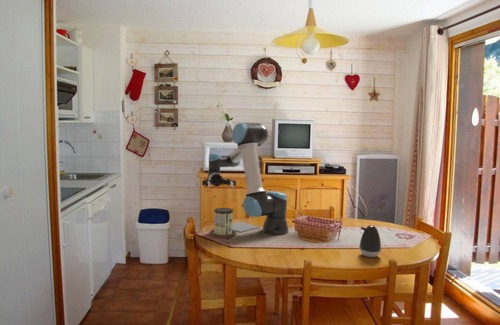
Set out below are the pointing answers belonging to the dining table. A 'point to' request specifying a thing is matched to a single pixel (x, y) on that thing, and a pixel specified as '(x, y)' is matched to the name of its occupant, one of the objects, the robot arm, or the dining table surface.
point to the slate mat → (243, 227)
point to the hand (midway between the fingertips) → (221, 185)
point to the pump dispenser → (370, 242)
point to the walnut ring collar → (223, 235)
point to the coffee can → (223, 221)
